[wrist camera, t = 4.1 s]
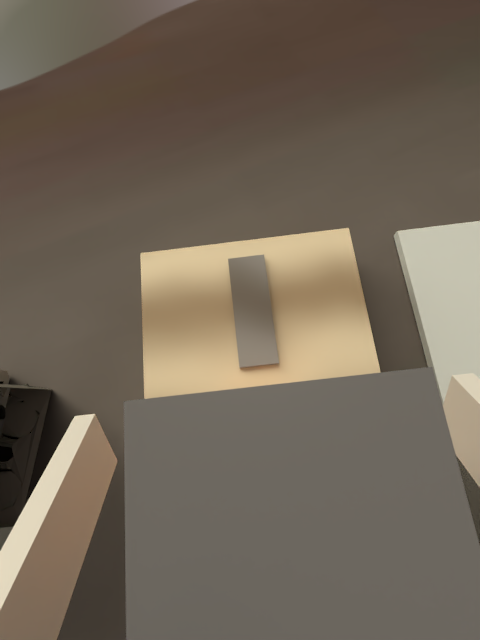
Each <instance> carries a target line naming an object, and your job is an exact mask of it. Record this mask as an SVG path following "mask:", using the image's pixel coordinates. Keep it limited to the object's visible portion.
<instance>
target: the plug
mask: <svg viewBox="0 0 480 640" xmlns="http://www.w3.org/2000/svg"><path fill="white" fill-rule="evenodd" d="M124 479H125V578H126V640H480V545H479V541H478V537H477V533H476V530H475V526H474V522H473V518H472V514H471V511H470V507H469V503H468V499H467V496H466V492H465V488H464V484H463V480H462V477H461V473H460V469H459V465H458V462H457V458H456V454H455V450H454V447H453V443H452V439H451V435H450V431H449V428H448V424H447V420H446V416H445V413H444V409H443V405H442V401H441V398H440V394H439V390H438V386H437V382H436V379H435V375H434V371H433V367H425V368H416V369H407V370H399V371H390V372H381V373H372V374H363V375H354V376H345V377H336V378H327V379H318V380H309V381H300V382H291V383H282V384H273V385H264V386H255V387H246V388H237V389H229V390H220V391H211V392H202V393H193V394H184V395H175V396H166V397H157V398H148V399H139V400H130V401H124Z"/></svg>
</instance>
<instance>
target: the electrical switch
mask: <svg viewBox="0 0 480 640" xmlns="http://www.w3.org/2000/svg"><path fill="white" fill-rule="evenodd" d="M9 380H10V378H9V375H8V372H7V371H3V370H0V446H5V447H11V448H12V451H13V455H12V458H11V459H10V460H9V461H6V462H0V470H2V469H11V470H12V471H13V473H12V472H11V471H5V472H0V528H4V527H14V525H15V523H16V522H17V520H18V518H19V516H20V514H21V512H22V511H23V509H24V507H25V503H26V498H27V494H28V490H29V485H30V481H31V477H32V472H33V468H34V464H35V459H36V455H37V451H38V446H39V442H40V438H41V434H42V429H43V425H44V421H45V416H46V412H47V408H48V403H49V399H50V395H51V390H48V389H46V388H40V387H31V386H29V385H28V384H24V385H10V384H9ZM9 393H11V396H12V397H8V396H9ZM20 401H24V402H20ZM6 406H7V407H6ZM5 407H6V408H5ZM36 412H37V413H36ZM37 414H38V415H39V416H37ZM32 429H33V431H32V433H30V432H31V430H32ZM2 433H3V434H4V435H8V436H13V437H18V438H19V437H22V438H20V439H10V438H7V437H4V436H3V434H2ZM29 433H30V434H29ZM1 438H2V439H1ZM21 483H22V484H23V485H22V487H21ZM8 507H9V508H8ZM5 508H6V509H5Z"/></svg>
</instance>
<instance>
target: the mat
mask: <svg viewBox="0 0 480 640" xmlns="http://www.w3.org/2000/svg"><path fill="white" fill-rule="evenodd" d="M394 239H395V243H396V247H397V251H398V254H399V258H400V262H401V266H402V270H403V274H404V277H405V281H406V285H407V289H408V293H409V297H410V300H411V304H412V308H413V312H414V316H415V319H416V323H417V327H418V331H419V335H420V339H421V342H422V346H423V350H424V354H425V358H426V361H427V365H428V367H433V371H434V375H435V379H436V382H437V386H438V390H439V394H440V398H441V401H442V405H443V404H444V400H445V397H446V393H447V390H448V387H449V383H450V380H451V377H452V375H460V374H469V373H474V374H475V375H476V376H477V377H478V378H479V379H480V221H476V222H468V223H459V224H451V225H443V226H435V227H426V228H418V229H410V230H402V231H397V232H396V233H395V235H394Z"/></svg>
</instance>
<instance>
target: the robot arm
mask: <svg viewBox="0 0 480 640" xmlns="http://www.w3.org/2000/svg"><path fill="white" fill-rule="evenodd" d="M443 409H444V413H445V416H446V420H447V424H448V428H449V431H450V435H451V439H452V443H453V447H454V450H455V454H456V456H457V457H458V458H459V460H460V461H461V462H462V464H463V465H464V467H465V468H466V469H467V471H468V472H469V473H470V475H471V476H472V478H473V479H474V480H475V482H476V483H477V484H478V486H479V487H480V379H479V378H478V377H477V376H476V375H475V374H474V373H469V374H460V375H452V377H451V380H450V383H449V387H448V390H447V393H446V397H445V400H444V404H443ZM116 464H117V459H116V456H115V454H114V452H113V450H112V448H111V446H110V444H109V442H108V440H107V438H106V436H105V434H104V432H103V429H102V427H101V425H100V423H99V421H98V419H97V417H96V415H95V414H89V415H80V416H74V418H73V420H72V422H71V424H70V426H69V427H68V429H67V431H66V433H65V435H64V436H63V438H62V440H61V442H60V444H59V445H58V447H57V449H56V451H55V453H54V455H53V456H52V458H51V460H50V462H49V464H48V465H47V467H46V469H45V471H44V473H43V474H42V476H41V478H40V480H39V482H38V484H37V485H36V487H35V489H34V491H33V493H32V494H31V496H30V498H29V500H28V502H27V503H26V505H25V507H24V509H23V511H22V512H21V514H20V516H19V518H18V520H17V522H16V523H15V525H14V527H4V528H0V640H57V637H58V635H59V632H60V629H61V626H62V623H63V620H64V617H65V614H66V611H67V608H68V605H69V602H70V599H71V596H72V593H73V591H74V588H75V585H76V582H77V579H78V576H79V573H80V570H81V567H82V564H83V561H84V558H85V555H86V552H87V549H88V546H89V544H90V541H91V538H92V535H93V532H94V529H95V526H96V523H97V520H98V517H99V514H100V511H101V508H102V505H103V502H104V500H105V497H106V494H107V491H108V488H109V485H110V482H111V479H112V476H113V473H114V470H115V467H116Z"/></svg>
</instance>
